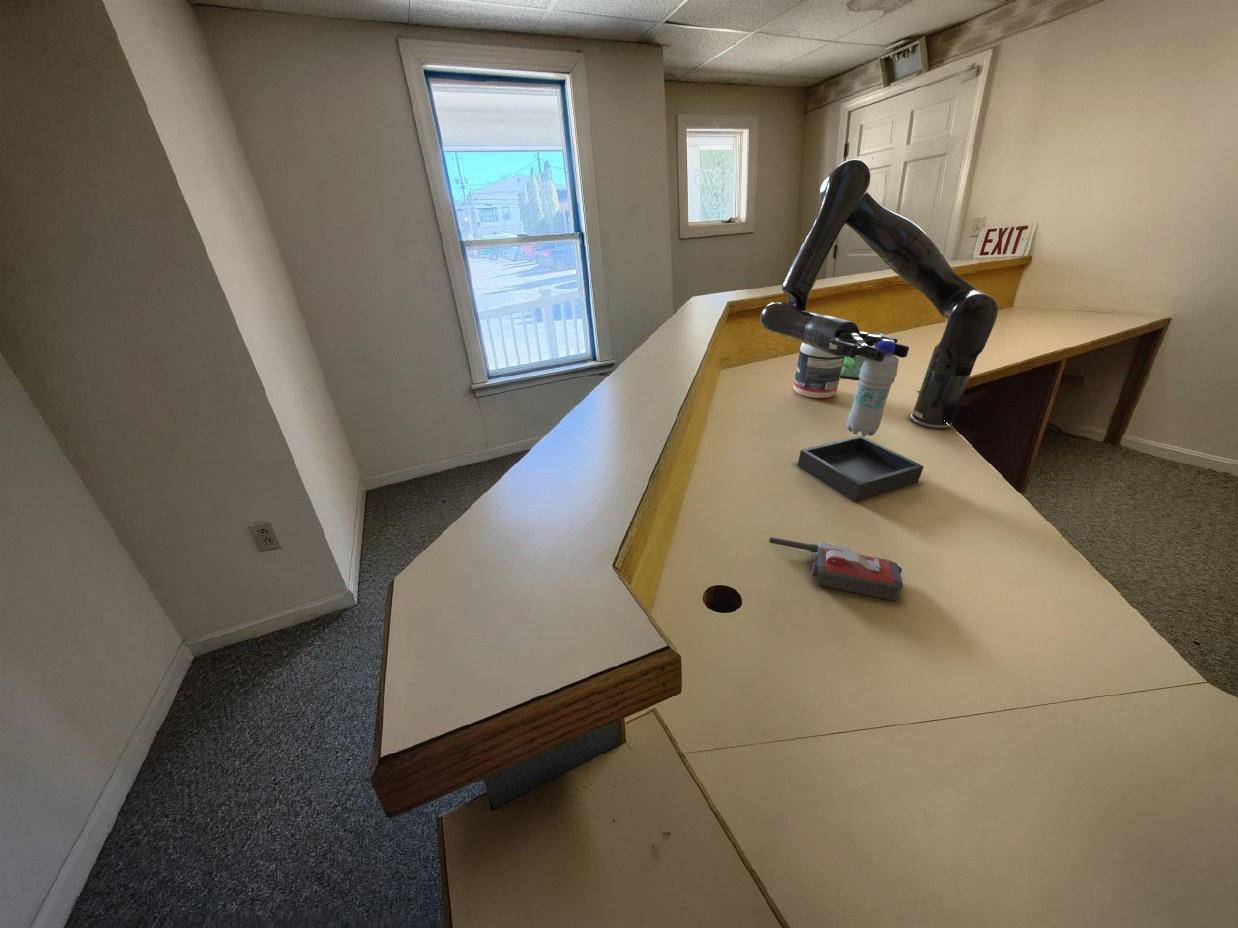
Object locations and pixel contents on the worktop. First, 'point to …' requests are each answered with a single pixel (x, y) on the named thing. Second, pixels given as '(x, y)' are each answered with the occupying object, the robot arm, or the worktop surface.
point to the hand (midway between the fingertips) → (894, 354)
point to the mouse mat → (852, 367)
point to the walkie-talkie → (851, 569)
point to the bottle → (873, 391)
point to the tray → (859, 467)
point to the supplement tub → (817, 372)
